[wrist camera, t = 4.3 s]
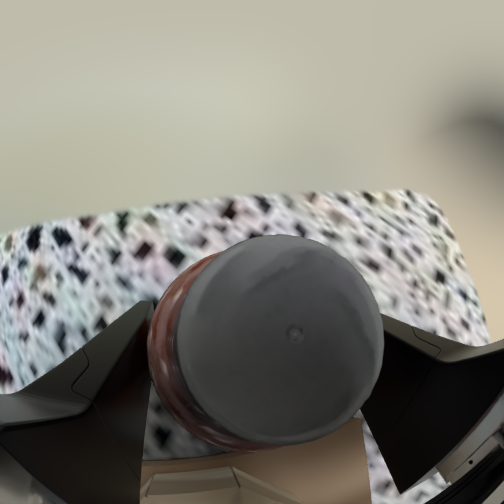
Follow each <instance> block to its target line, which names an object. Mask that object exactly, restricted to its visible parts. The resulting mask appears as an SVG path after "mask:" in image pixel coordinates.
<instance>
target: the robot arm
mask: <svg viewBox="0 0 504 504" xmlns="http://www.w3.org/2000/svg"><path fill="white" fill-rule="evenodd" d="M153 314H154V308H153V302H152V301H139V302H138V303H137V304H135V305H134V306H133V307H132V308H130V309H129V310H128V311H126V312H125V313H124V314H123V315H121V316H120V317H119V318H118V319H116V320H115V321H114V322H112V323H111V324H110V325H109V326H107V327H106V328H105V329H104V330H102V331H101V332H100V333H99V334H97V335H96V336H95V337H94V338H92V339H91V340H90V341H89V342H87V343H86V344H85V345H84V346H82V348H80V349H79V350H77V351H76V352H75V353H74V354H72V355H71V356H70V357H68V358H67V359H66V360H65V361H63V362H62V363H60V364H59V365H58V366H56V367H55V368H53V369H52V370H50V371H49V372H47V373H46V374H44V375H43V376H41V377H40V378H38V379H37V380H35V381H34V382H32V383H31V384H29V385H28V386H26V387H25V388H23V389H22V390H20V391H18V392H15V393H12V394H5V395H3V394H0V504H140V487H141V483H140V482H141V469H142V456H143V445H144V435H145V426H146V417H147V409H148V402H149V395H150V388H151V381H152V380H151V377H150V371H149V365H148V359H147V337H148V332H149V327H150V324H151V320H152V317H153ZM380 315H381V318H382V322H383V333H384V351H383V358H382V367H381V370H380V373H379V376H378V379H377V381H376V383H375V385H374V387H373V389H372V392H371V395H370V397H369V398H368V399H367V400H366V401H365V402H364V404H363V406H362V407H361V408H360V410H361V412H362V414H363V416H364V418H365V420H366V422H367V424H368V426H369V428H370V431H371V433H372V435H373V437H374V439H375V441H376V443H377V445H378V448H379V450H380V452H381V454H382V456H383V459H384V461H385V463H386V465H387V467H388V469H389V472H390V474H391V476H392V478H393V480H394V483H395V485H396V487H397V489H398V491H399V493H400V494H403V493H404V492H406V491H408V490H410V489H412V488H413V487H415V486H417V485H418V484H420V483H422V482H423V481H425V480H427V479H428V478H430V477H431V476H433V475H434V474H436V473H437V472H439V473H440V475H441V476H442V478H443V479H444V481H445V482H446V484H447V483H449V482H450V483H451V484H452V485H450V486H449V487H448V488H446V489H445V490H444V491H442V492H441V493H440V494H438V495H437V496H435V497H434V498H432V499H431V500H429V501H428V502H426V503H425V504H504V339H502V340H500V341H497V342H494V343H491V344H488V345H485V346H479V347H475V346H469V345H465V344H462V343H459V342H456V341H453V340H450V339H447V338H444V337H441V336H438V335H435V334H432V333H429V332H427V331H424V330H421V329H419V328H416V327H414V326H411V325H409V324H406V323H404V322H401V321H399V320H396V319H394V318H391V317H389V316H386V315H384V314H381V313H380Z"/></svg>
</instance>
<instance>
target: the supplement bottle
mask: <svg viewBox="0 0 504 504" xmlns="http://www.w3.org/2000/svg"><path fill="white" fill-rule="evenodd" d="M383 351H384V333H383V322H382V318H381V315H380V311H379V309H378V304H377V302H376V300H375V297H374V295H373V293H372V291H371V289H370V287H369V285H368V284H367V283H366V281H365V280H364V278H363V276H362V275H361V274H360V273H359V272H358V271H357V270H356V268H355V267H354V266H353V265H352V264H351V263H350V262H349V261H348V260H347V259H346V258H344V257H342V256H340V255H339V254H338V253H336V252H335V251H334V250H332V249H331V248H329V247H327V246H325V245H323V244H321V243H319V242H317V241H314V240H311V239H305V238H302V237H298V236H291V235H280V234H277V235H266V236H260V237H255V238H252V239H248V240H245V241H242V242H239V243H237V244H235V245H233V246H232V247H230V248H228V249H226V250H225V251H222V252H219V253H215V254H212V255H210V256H208V257H205V258H204V259H202V260H200V261H198V262H196V263H195V264H193V265H191V266H190V267H188V268H187V269H186V270H185V271H183V272H182V273H181V274H180V275H179V276H178V277H177V278H176V279H175V280H174V281H173V282H172V283H171V285H170V286H169V287H168V289H167V290H166V291H165V292H164V294H163V296H162V297H161V299H160V301H159V303H158V305H157V307H156V309H155V311H154V314H153V317H152V320H151V324H150V327H149V332H148V337H147V359H148V365H149V371H150V377H151V380H152V382H153V385H154V387H155V389H156V393H157V394H158V396H159V398H160V400H161V402H162V403H163V405H164V406H165V408H166V409H167V410H168V412H169V413H170V415H171V416H172V417H173V419H174V420H175V421H176V422H178V423H179V424H180V425H181V426H182V427H184V428H185V429H186V430H187V431H189V432H190V433H191V434H193V435H195V436H196V437H198V438H199V439H201V440H203V441H205V442H207V443H210V444H212V445H214V446H217V447H221V448H223V449H226V450H231V451H238V452H262V451H270V450H275V449H278V448H282V447H287V446H289V445H298V444H303V443H307V442H311V441H314V440H317V439H320V438H322V437H324V436H326V435H328V434H330V433H332V432H334V431H337V430H338V429H339V428H340V427H342V426H343V425H344V424H345V423H346V422H347V421H349V420H350V419H351V418H352V417H353V416H354V415H355V414H356V412H357V411H358V410H359V409H360V408H361V407H362V406H363V404H364V402H365V401H366V400H367V399H368V398H369V397H370V395H371V392H372V389H373V387H374V385H375V383H376V381H377V379H378V376H379V373H380V370H381V367H382V358H383Z"/></svg>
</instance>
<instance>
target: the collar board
mask: <svg viewBox="0 0 504 504" xmlns="http://www.w3.org/2000/svg"><path fill="white" fill-rule="evenodd" d="M140 483H141V487H140V504H372V501H371V491H370V481H369V473H368V465H367V458H366V451H365V444H364V437H363V431H362V425H361V419H360V418H355V417H352V418H351V419H350V420H349V421H347V422H346V423H345V424H344V425H343V426H342V427H340V428H339V429H338V430H337V431H334V432H332V433H330V434H328V435H326V436H324V437H322V438H320V439H317V440H314V441H311V442H307V443H303V444H298V445H289V446H287V447H282V448H278V449H275V450H270V451H262V452H238V451H235V452H230V453H224V454H218V455H211V456H204V457H195V458H186V459H175V460H160V461H142V469H141V482H140Z"/></svg>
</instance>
